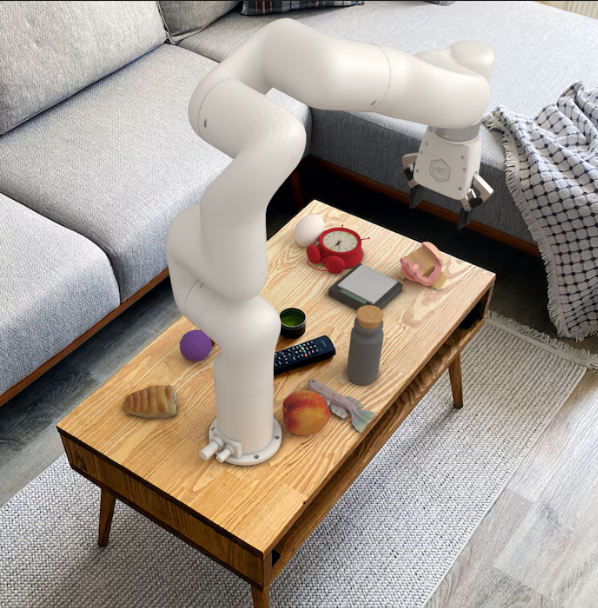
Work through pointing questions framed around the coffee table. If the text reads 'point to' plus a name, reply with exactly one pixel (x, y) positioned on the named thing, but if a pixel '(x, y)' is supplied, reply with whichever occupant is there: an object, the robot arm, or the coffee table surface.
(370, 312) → the bottle
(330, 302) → the coffee table surface
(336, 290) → the scale
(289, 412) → the fruit
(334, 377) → the coffee table surface
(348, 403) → the fish
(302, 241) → the egg
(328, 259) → the alarm clock
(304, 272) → the coffee table surface
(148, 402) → the pastry
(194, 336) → the kendama
